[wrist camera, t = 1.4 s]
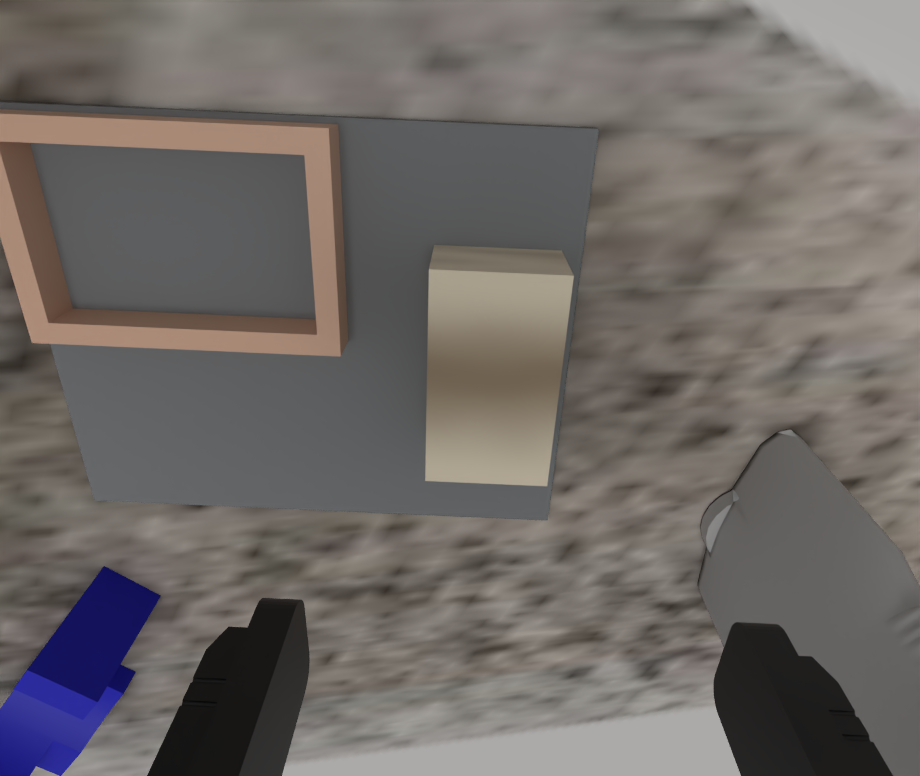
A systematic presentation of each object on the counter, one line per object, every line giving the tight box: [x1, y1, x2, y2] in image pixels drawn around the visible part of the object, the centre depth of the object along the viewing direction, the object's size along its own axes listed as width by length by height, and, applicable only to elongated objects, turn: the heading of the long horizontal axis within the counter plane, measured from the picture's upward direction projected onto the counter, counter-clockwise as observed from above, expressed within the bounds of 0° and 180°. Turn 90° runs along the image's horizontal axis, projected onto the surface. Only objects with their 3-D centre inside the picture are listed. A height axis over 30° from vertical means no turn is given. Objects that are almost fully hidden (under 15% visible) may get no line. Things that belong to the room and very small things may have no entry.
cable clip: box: [0, 566, 160, 776], centre depth 30 cm, size 12×4×6 cm, turn 141°
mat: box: [0, 101, 599, 520], centre depth 24 cm, size 20×16×1 cm
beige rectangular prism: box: [425, 245, 574, 486], centre depth 22 cm, size 8×4×3 cm, turn 178°
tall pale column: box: [698, 429, 920, 776], centre depth 18 cm, size 11×4×22 cm, turn 171°
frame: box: [0, 109, 348, 357], centre depth 21 cm, size 11×8×2 cm
